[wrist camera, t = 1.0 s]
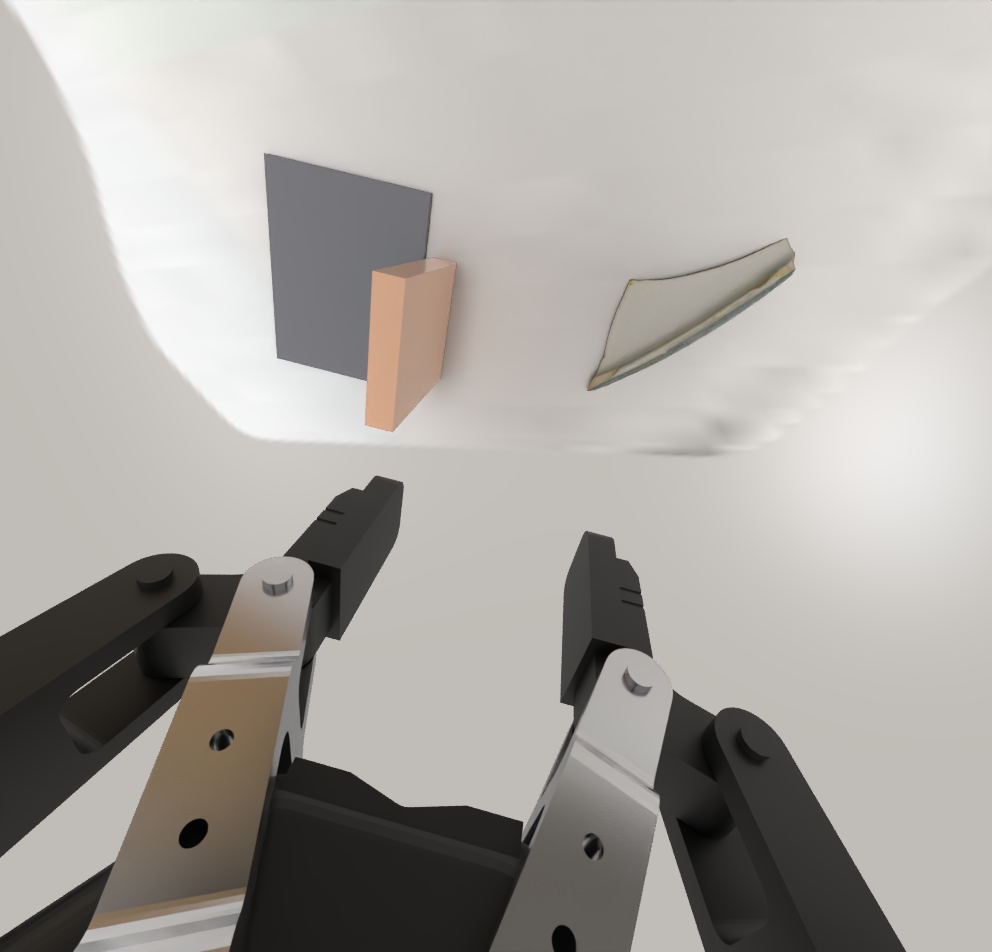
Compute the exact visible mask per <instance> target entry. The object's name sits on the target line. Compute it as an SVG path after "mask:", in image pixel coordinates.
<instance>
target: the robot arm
mask: <svg viewBox="0 0 992 952" xmlns="http://www.w3.org/2000/svg"><path fill="white" fill-rule="evenodd" d="M403 488H404V486H403V482H400V481H396V480H392V479H388V478H384V477H380V476H375V477H374V478H373V479H372V480H371V482H370V483H369V484H368V485H367V486H366V488H365V489H364V490H363V491H362V490H359V489H354V488H352V489H350V490H348V491H346V492H344V493H342V494H340V495H338V496H336V497H335V498H334V499H333V501H332V502H331V503H330V504H329V505H328V506H327V507H326V510H325V511H323V512H322V513H321V514H320V515H319V516H318V517H317V520H315V521H314V522H313V523H312V524H311V525H310V527H308V529H307V530H306V531H305V532H304V533H303V534H302V536H300V538H299V539H298V540H297V541H296V542H295V543H294V544H293V546H292V547H291V548H290V549H289V550H288V551H287V552H286V553H285V554H284V556H283V557H274V558H270V559H266V560H263V561H261V562H259V563H257V564H255V565H254V566H252V567H250V568H249V569H248V570H247V571H246V572H245V574H240V575H200V573H199V568H198V565H197V563H196V562H195V561H194V560H193V559H191V558H189V557H187V556H185V555H181V554H158V555H153V556H150V557H146V558H143V559H140V560H138V561H136V562H133V563H132V564H130V565H128V566H126V567H124V568H123V569H121V570H119V571H117V572H115V573H113V574H112V575H110V576H108V577H106V578H105V579H103V580H101V581H99V582H97V583H95V584H94V585H92V586H90V587H88V588H87V589H85V590H83V591H81V592H80V593H78V594H76V595H74V596H72V597H71V598H69V599H67V600H65V601H63V602H62V603H60V604H58V605H56V606H54V607H52V608H51V609H49V610H47V611H45V612H44V613H42V614H40V615H38V616H36V617H35V618H33V619H31V620H29V621H27V622H26V623H24V624H22V625H20V626H18V627H17V628H15V629H13V630H11V631H9V632H8V633H6V634H4V635H2V636H1V637H0V857H1V856H3V855H4V854H5V853H6V852H7V851H8V850H9V849H11V848H12V847H13V846H14V845H15V844H16V843H17V842H19V841H20V840H21V839H22V838H23V837H24V836H25V835H27V834H28V833H29V832H30V831H31V830H32V829H33V828H35V827H36V825H38V824H39V823H40V822H41V821H42V820H44V819H45V818H46V817H47V816H48V815H49V814H50V813H52V812H53V811H54V810H55V809H56V808H57V807H58V806H60V805H61V804H62V803H63V802H64V801H65V800H66V799H67V798H69V797H70V796H71V795H72V794H73V793H74V792H75V791H77V790H78V789H79V788H80V787H81V786H82V785H83V784H85V783H86V782H87V781H88V780H89V779H90V778H91V777H92V776H94V775H95V774H96V773H97V772H98V771H99V770H100V769H102V768H103V767H104V766H105V765H106V764H107V763H108V762H109V761H111V760H112V759H113V758H114V757H115V756H116V755H118V753H120V752H121V751H122V750H123V749H124V748H126V747H127V746H128V745H129V744H130V743H131V742H132V741H133V740H135V739H136V738H137V737H138V736H139V735H140V734H141V733H143V732H144V731H145V730H146V729H147V728H148V727H149V726H151V725H152V724H153V723H154V722H155V721H156V720H157V719H159V718H160V717H161V716H162V715H163V714H164V713H165V712H166V711H168V710H169V709H170V708H171V707H172V706H173V705H174V704H176V703H177V702H178V701H179V700H180V699H181V700H180V702H179V705H178V707H177V710H176V712H175V715H174V717H173V720H172V722H171V725H170V727H169V730H168V732H167V735H166V737H165V740H164V742H163V745H162V747H161V749H160V752H159V755H158V757H157V759H156V762H155V764H154V767H153V769H152V772H151V774H150V777H149V779H148V782H147V784H146V787H145V789H144V792H143V794H142V797H141V799H140V801H139V804H138V807H137V809H136V811H135V814H134V816H133V819H132V821H131V824H130V826H129V829H128V831H127V834H126V836H125V839H124V841H123V844H122V846H121V849H120V851H119V853H118V856H117V858H116V861H115V862H113V863H112V864H111V865H109V866H107V867H106V868H104V869H103V870H101V871H100V872H98V873H97V874H96V875H94V876H92V877H91V878H89V879H88V880H86V881H85V882H83V883H82V884H80V885H79V886H77V887H76V888H74V889H73V890H71V891H70V892H68V893H67V894H65V895H64V896H63V897H61V898H59V899H58V900H56V901H55V902H53V903H52V904H50V905H49V906H47V907H46V908H44V909H42V910H41V911H39V912H38V913H36V914H35V915H33V916H32V917H30V918H29V919H28V920H26V921H25V922H23V923H21V924H20V925H19V926H17V927H15V928H14V929H12V930H11V931H9V932H8V933H6V934H5V935H3V936H2V937H0V952H630V950H631V945H632V940H633V936H634V930H635V926H636V921H637V916H638V911H639V906H640V901H641V896H642V891H643V886H644V881H645V876H646V871H647V866H648V862H649V857H650V852H651V847H652V842H653V837H654V831H655V827H656V822H657V816H658V812H659V808H660V812H661V815H662V818H663V821H664V824H665V827H666V830H667V834H668V837H669V840H670V843H671V846H672V849H673V852H674V855H675V859H676V862H677V865H678V868H679V871H680V874H681V877H682V881H683V884H684V887H685V890H686V893H687V896H688V899H689V903H690V906H691V909H692V912H693V915H694V918H695V921H696V924H697V928H698V931H699V934H700V937H701V940H702V943H703V947H704V949H705V952H906V951H905V949H904V947H903V946H902V944H901V942H900V940H899V939H898V937H897V935H896V934H895V932H894V930H893V928H892V927H891V925H890V924H889V922H888V920H887V918H886V916H885V915H884V913H883V911H882V910H881V908H880V906H879V905H878V903H877V901H876V899H875V898H874V896H873V894H872V893H871V891H870V889H869V888H868V886H867V884H866V882H865V881H864V879H863V877H862V876H861V874H860V872H859V870H858V869H857V867H856V866H855V864H854V862H853V860H852V858H851V857H850V855H849V853H848V852H847V850H846V848H845V847H844V845H843V843H842V841H841V840H840V838H839V836H838V835H837V833H836V831H835V830H834V828H833V826H832V824H831V823H830V821H829V819H828V818H827V816H826V814H825V812H824V811H823V809H822V807H821V806H820V804H819V802H818V801H817V799H816V797H815V795H814V794H813V792H812V790H811V789H810V787H809V785H808V783H807V782H806V780H805V778H804V777H803V775H802V773H801V772H800V770H799V768H798V766H797V765H796V763H795V761H794V760H793V758H792V756H791V754H790V753H789V751H788V750H787V748H786V746H785V744H784V743H783V741H782V740H781V738H780V737H779V736H778V735H777V734H776V732H775V731H774V730H773V729H772V728H771V727H770V726H769V725H768V724H766V723H765V722H764V721H763V720H761V719H760V718H759V717H757V716H756V715H754V714H752V713H750V712H748V711H746V710H743V709H740V708H725V709H723V710H721V711H720V712H719V713H718V714H717V715H716V716H715V715H713V714H711V713H709V712H708V711H706V710H704V709H702V708H701V707H699V706H697V705H695V704H694V703H692V702H690V701H689V700H687V699H685V698H684V697H682V696H681V695H679V694H678V693H677V692H675V691H674V690H673V689H672V685H671V682H670V679H669V677H668V675H667V674H666V672H665V671H664V670H663V668H662V667H661V666H660V665H659V664H658V663H657V662H656V661H655V660H653V656H652V650H651V645H650V639H649V634H648V628H647V622H646V617H645V611H644V609H643V600H642V595H641V589H640V583H639V577H638V575H637V574H636V572H635V571H634V569H633V568H632V566H631V565H630V563H629V562H628V561H626V560H622V559H618V558H616V552H615V544H614V539H613V538H611V537H607V536H604V535H600V534H596V533H592V532H588V531H585V533H584V534H583V537H582V539H581V541H580V544H579V546H578V549H577V551H576V554H575V556H574V559H573V562H572V564H571V567H570V569H569V572H568V575H567V578H566V583H565V588H564V605H563V637H562V667H561V668H562V669H561V699H560V702H561V703H564V704H568V705H572V706H574V721H573V723H572V725H571V726H570V728H569V730H568V732H567V735H566V737H565V740H564V742H563V744H562V747H561V749H560V751H559V753H558V755H557V758H556V760H555V762H554V765H553V767H552V769H551V772H550V774H549V776H548V779H547V781H546V783H545V785H544V788H543V790H542V792H541V795H540V797H539V799H538V801H537V804H536V806H535V808H534V810H533V812H532V814H531V816H530V818H529V821H528V822H527V825H526V827H525V829H524V831H523V833H522V829H523V822H522V821H518V820H514V819H511V818H508V817H504V816H501V815H497V814H493V813H490V812H487V811H483V810H480V809H476V808H473V807H469V806H439V807H403V806H400V805H399V804H397V803H395V802H394V801H392V800H391V799H389V798H388V797H386V796H385V795H383V794H382V793H380V792H379V791H377V790H376V789H374V788H373V787H372V786H370V785H369V784H367V783H366V782H364V781H363V780H361V779H359V778H358V777H357V776H355V775H354V774H352V773H351V772H347V771H344V770H340V769H337V768H333V767H330V766H326V765H323V764H319V763H316V762H312V761H309V760H306V759H302V757H303V741H304V733H305V727H306V721H307V714H308V707H309V701H310V695H311V688H312V682H313V676H314V668H315V663H316V652H317V650H318V648H319V647H320V645H321V643H322V642H323V640H324V639H325V637H329V638H332V639H336V640H340V639H341V637H342V635H343V633H344V632H345V630H346V628H347V627H348V625H349V623H350V621H351V620H352V618H353V616H354V614H355V613H356V611H357V609H358V607H359V606H360V604H361V602H362V600H363V598H364V597H365V595H366V593H367V591H368V590H369V588H370V586H371V585H372V583H373V581H374V579H375V577H376V575H377V574H378V572H379V570H380V569H381V567H382V565H383V563H384V562H385V560H386V558H387V556H388V555H389V553H390V551H391V549H392V548H393V546H394V543H395V541H396V538H397V535H398V531H399V526H400V517H401V507H402V498H403ZM132 650H134V651H133V652H132V653H131V654H129V655H128V656H127V657H125V658H124V659H122V660H121V661H120V662H118V663H117V664H115V665H114V666H113V667H111V668H110V669H108V670H107V671H106V672H104V673H103V674H101V675H100V676H99V677H97V678H96V679H94V680H93V681H92V682H90V683H89V684H88V685H86V686H85V687H84V688H82V689H81V690H79V691H78V692H77V693H75V694H74V695H72V694H73V693H74V692H75V691H76V690H78V689H79V688H80V687H82V686H83V685H84V684H86V683H87V682H89V681H90V680H91V679H93V678H94V677H96V676H97V675H98V674H100V673H101V672H103V671H104V670H105V669H107V668H108V667H110V666H111V665H112V664H114V663H115V662H117V661H118V660H119V659H121V658H122V657H124V656H125V655H126V654H128V653H129V652H131V651H132ZM71 695H72V696H71ZM70 696H71V697H70Z"/></svg>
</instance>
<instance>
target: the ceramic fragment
mask: <svg viewBox="0 0 992 952" xmlns="http://www.w3.org/2000/svg"><path fill="white" fill-rule="evenodd" d="M794 257H795V253H794V251H793V250H792V248H791V246H790V244H789V242H788V239H787V238H786V239H783V240H780V241H778V242H776V243H774V244H771V245H769V246H767V247H765V248H763V249H761V250H759V251H757V252H755V253H752V254H751V255H749V256H746V257H744V258H742V259H739V260H736V261H734V262H731V263H728V264H725V265H722V266H719V267H715V268H711V269H708V270H704V271H701V272H697V273H693V274H689V275H686V276H681V277H675V278H668V279H660V280H630V282H629V284H628V286H627V289H626V291H625V293H624V296H623V298H622V300H621V303H620V305H619V307H618V310H617V312H616V314H615V317H614V320H613V324H612V325H611V329H610V332H609V336H608V340H607V344H606V350H605V354H604V357H603V359H602V361H601V364H600V367H599V369H598V372H597V374H596V375H595V377H594V378H593V379H592V381H591V383H590V385H589V388H588V390H587V391H592V390H596V389H599V388H601V387H604V386H607V385H609V384H611V383H613V382H616V381H618V380H621V379H623V378H625V377H627V376H629V375H631V374H634V373H636V372H638V371H640V370H642V369H645V368H647V367H649V366H651V365H653V364H655V363H657V362H659V361H661V360H663V359H665V358H667V357H668V356H670V355H672V354H674V353H676V352H678V351H679V350H681V349H683V348H685V347H686V346H688V345H690V344H691V343H693V342H695V341H696V340H698V339H700V338H702V337H703V336H705V335H707V334H708V333H710V332H712V331H713V330H715V329H716V328H718V327H720V326H721V325H723V324H724V323H726V322H727V321H729V320H730V319H732V318H733V317H735V316H736V315H738V314H739V313H741V312H742V311H744V310H745V309H746V308H748V307H749V306H751V305H752V304H754V303H755V302H757V301H758V300H759V299H761V298H762V297H764V296H765V295H766V294H768V293H769V292H770V291H772V290H773V289H774V288H776V287H777V286H778V285H780V284H781V283H782V282H784V281H785V280H786V279H788V278H789V277H790V276H791V275H792V274H793V272H794V270H795V267H794Z"/></svg>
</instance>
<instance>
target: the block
mask: <svg viewBox="0 0 992 952" xmlns="http://www.w3.org/2000/svg"><path fill="white" fill-rule="evenodd" d="M456 265H457V263H454V262H450V261H446V260H442V259H438V258H434V257H433V258H428V259H424V260H419V261H414V262H410V263H405V264H400V265H396V266H391V267H387V268H382V269H377V270H373V271H372V289H371V310H370V331H369V352H368V373H367V394H366V415H365V425H367V426H371V427H374V428H378V429H382V430H386V431H390V432H393V431H394V430H395V429H396V428H397V427H398V425H399V424H400V423H401V422H402V421H403V420H404V419H405V418H406V416H407V415H408V414H409V413H410V412H411V411H412V410H413V409H414V408H415V406H416V405H417V404H418V403H419V402H420V401H421V400H422V399H423V397H424V396H425V395H426V394H427V393H428V392H429V391H430V390H431V388H432V387H433V386H434V385H435V384H436V383H437V382H438V381H439V379H440V378H441V372H442V365H443V357H444V350H445V343H446V336H447V329H448V322H449V315H450V308H451V300H452V293H453V286H454V279H455V272H456Z"/></svg>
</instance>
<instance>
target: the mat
mask: <svg viewBox="0 0 992 952" xmlns="http://www.w3.org/2000/svg"><path fill="white" fill-rule="evenodd" d="M264 160H265V176H266V191H267V207H268V222H269V238H270V254H271V269H272V285H273V300H274V316H275V332H276V347H277V358H279V359H283V360H287V361H291V362H295V363H299V364H303V365H307V366H311V367H315V368H318V369H322V370H326V371H330V372H334V373H338V374H342V375H346V376H350V377H354V378H358V379H361V380H365V381H367V373H368V352H369V331H370V310H371V289H372V271H373V270H377V269H382V268H387V267H391V266H396V265H400V264H405V263H410V262H414V261H419V260H424V259H426V250H427V240H428V231H429V221H430V212H431V202H432V193H428V192H424V191H420V190H416V189H411V188H407V187H403V186H399V185H395V184H390V183H386V182H382V181H378V180H374V179H370V178H365V177H361V176H357V175H353V174H349V173H345V172H340V171H336V170H332V169H328V168H324V167H320V166H315V165H311V164H307V163H303V162H299V161H295V160H290V159H286V158H282V157H278V156H274V155H270V154H265V153H264Z"/></svg>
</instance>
